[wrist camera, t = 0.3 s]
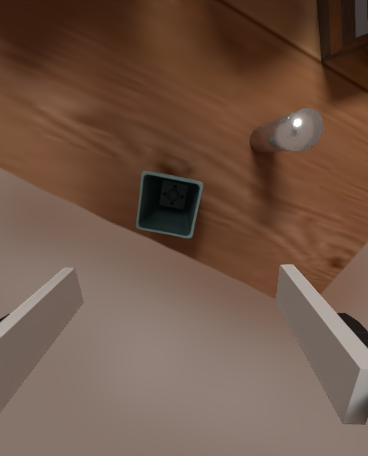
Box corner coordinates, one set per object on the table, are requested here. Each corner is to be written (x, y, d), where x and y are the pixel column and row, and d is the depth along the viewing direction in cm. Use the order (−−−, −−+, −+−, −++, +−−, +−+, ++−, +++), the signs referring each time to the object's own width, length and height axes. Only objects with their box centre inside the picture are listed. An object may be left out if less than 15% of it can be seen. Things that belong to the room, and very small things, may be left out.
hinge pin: (247, 130, 34) (280, 115, 21) (272, 122, 34) (321, 102, 21) (252, 154, 36) (285, 155, 23) (276, 147, 35) (324, 144, 22)
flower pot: (192, 221, 40) (191, 240, 32) (147, 213, 40) (134, 229, 32) (202, 175, 37) (204, 182, 29) (153, 166, 37) (141, 170, 29)
